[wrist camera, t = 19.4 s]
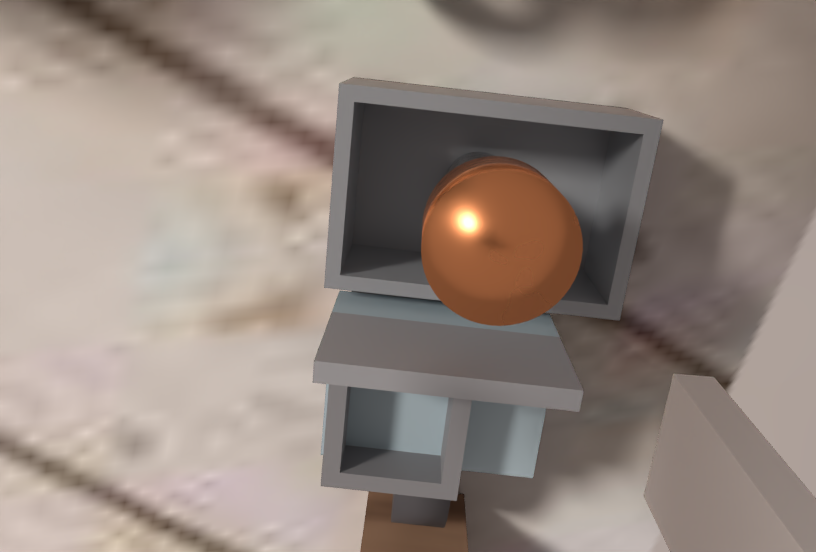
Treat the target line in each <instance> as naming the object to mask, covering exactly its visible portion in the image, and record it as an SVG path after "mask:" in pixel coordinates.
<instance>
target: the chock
mask: <svg viewBox="0 0 816 552" xmlns="http://www.w3.org/2000/svg"><path fill="white" fill-rule="evenodd" d="M392 499H393V494H389V493H380V492H371V491H369V493H368V501H367V508H366V515H365V522H364V530H363V537H362V544H361V551H360V552H468V542H467V529H466V515H465V502H464V494H458V496H457V501H453V500H451V501H450V508H449V513H448V518H447V522H446V525H445V527H444V528H440V527H431V526H422V525H412V524H403V523H394V522H391V511H392Z"/></svg>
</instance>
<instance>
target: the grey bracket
mask: <svg viewBox="0 0 816 552" xmlns="http://www.w3.org/2000/svg"><path fill="white" fill-rule="evenodd" d="M313 383H322V384H326V396H325V408H324V421H323V434H322V446H321V455H323V464H322V477H321V486H325V487H334V488H343V489H352V490H362V491H371V492H380V493H389V494H393V499H392V511H391V522H394V523H403V524H412V525H422V526H431V527H440V528H444V527H445V525H446V522H447V518H448V513H449V508H450V501H451V500H453V501H457V496H458V489H459V482H460V476H461V470H463V471H472V472H481V473H490V474H499V475H508V476H517V477H526V478H533V475H534V470H535V465H536V460H537V454H538V449H539V444H540V439H541V434H542V428H543V423H544V418H545V413H546V408H547V409H556V410H565V411H574V412H579V411H580V407H581V402H582V397H583V392H584V390H583V388H582V386H581V383H580V381H579V379H578V377H577V374H576V372H575V370H574V368H573V365H572V363H571V361H570V359H569V356H568V354H567V352H566V350H565V347H564V345H563V343H562V341H561V338H560V336H559V334H558V332H557V329H556V327H555V325H554V323H553V320H552V318H551V316H550V314H545V313H543V314H542V315H540V316H538V317H536V318H534V319H532V320H529V321H526V322H523V323H519V324H514V325H506V326H492V325H485V324H480V323H476V322H473V321H470V320H468V319H466V318H463V317H461V316H460V315H458V314H456V313H455V312H453V311H452V310H450V309H449V308H448V307H447V306H445V305H444V304H443V302H442V301H439V300H430V299H421V298H413V297H404V296H395V295H386V294H377V293H368V292H359V291H352V292H348V291H340V292H339V294H338V297H337V300H336V303H335V305H334V308H333V311H332V313H331V316H330V319H329V322H328V324H327V327H326V330H325V333H324V335H323V338H322V341H321V343H320V346H319V349H318V352H317V354H316V357H315V360H314V370H313Z"/></svg>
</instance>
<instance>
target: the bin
mask: <svg viewBox="0 0 816 552" xmlns="http://www.w3.org/2000/svg"><path fill="white" fill-rule="evenodd" d="M662 124H663V120H662V119H659V118H656V117H653V116H650V115H647V114H644V113H640V112H637V111H634V110H631V109H628V108H621V107H612V106H603V105H594V104H585V103H576V102H568V101H559V100H550V99H541V98H532V97H523V96H515V95H506V94H497V93H488V92H479V91H470V90H461V89H453V88H444V87H435V86H426V85H417V84H408V83H400V82H391V81H382V80H373V79H364V78H355V77H353V78H350V79H348V80H346V81H343V82H341V83H339V94H338V108H337V121H336V134H335V148H334V161H333V175H332V188H331V202H330V215H329V229H328V242H327V256H326V269H325V283H324V288H332V289H341V290H350V291H359V292H368V293H377V294H386V295H395V296H404V297H413V298H421V299H430V300H439V301H441V300H440V299H439V298H438V297H437V296H436V294H435V293H434V291H433V290H432V288H431V286H430V285H429V283H428V281H427V278H426V275H425V273H424V269H423V264H422V257H421V242H422V220H423V214H424V209H425V206H426V203H427V201H428V199H429V197H430V194H431V193H432V191H433V190H434V188H435V187H436V185H437V184H438V183H439V182H440V180H441V179H442V178H443V177H444V176H445V175H446V173H447V171H448V169H449V167H450V166H451V164H452V163H453V162H454V161H455V160H456V159H458V158H459V157H460V156H462V155H464V154H467V153H470V152H487V153H490V154H492V155H494V156H503V157H509V158H514V159H517V160H520V161H523V162H525V163H527V164H529V165H531V166H532V167H534V168H535V169H537V170H538V171H539V172H541V173H542V174H543V175H544V176H545V177H546V178H547V179H548V180H549V181H550V182H551V183H552V184H553V185H554V186H555V187H556V188H557V190H558V191H559V192H560V193H561V194H562V195H563V196H564V197H565V198H566V200H567V201H568V202H569V204H570V205H571V207H572V208H573V210H574V212H575V214H576V216H577V218H578V221H579V224H580V228H581V232H582V239H583V252H582V260H581V264H580V268H579V271H578V273H577V276H576V278H575V280H574V282H573V284H572V285H571V287H570V289H569V290H568V291H567V293H566V294H565V295H564V297H563V298H562V299H561V300H560V301H559V302H558V303H557V304H556V305H554V306H553V307H552V308H551V309H549V310H548V311H547V313H556V314H565V315H574V316H583V317H592V318H601V319H610V320H619V321H620V317H621V312H622V307H623V303H624V298H625V294H626V289H627V285H628V280H629V275H630V271H631V266H632V262H633V257H634V252H635V248H636V243H637V239H638V234H639V230H640V225H641V220H642V216H643V211H644V207H645V202H646V198H647V193H648V188H649V184H650V179H651V175H652V170H653V166H654V161H655V156H656V152H657V147H658V143H659V138H660V134H661V129H662Z"/></svg>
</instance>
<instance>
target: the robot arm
mask: <svg viewBox="0 0 816 552" xmlns="http://www.w3.org/2000/svg"><path fill="white" fill-rule="evenodd" d="M644 498H645V500H646V502H647V504H648V506H649V508H650V510H651V512H652V515H653V517H654V519H655V521H656V523H657V525H658V527H659V529H660V531H661V533H662V535H663V537H664V540H665V542H666V544H667V546H668V548H669V550H670V552H816V498H815V497H814V496H813V495H812V493H811V492H810V491H809V490H808V489H807V487H806V486H805V485H804V484H803V483H802V481H801V480H800V479H799V478H798V477H797V475H796V474H795V473H794V472H793V471H792V469H791V468H790V467H789V466H788V465H787V464H786V462H785V461H784V460H783V459H782V458H781V456H780V455H779V454H778V453H777V452H776V450H775V449H774V448H773V447H772V446H771V444H770V443H769V442H768V441H767V440H766V439H765V437H764V436H763V435H762V434H761V433H760V431H759V430H758V429H757V428H756V427H755V425H754V424H753V423H752V422H751V421H750V419H749V418H748V417H747V416H746V415H745V414H744V412H743V411H742V410H741V409H740V408H739V406H738V405H737V404H736V403H735V402H734V400H732V398H731V397H730V396H729V394H728V393H727V392H726V391H725V390H724V388H723V387H722V386H721V385H720V384H719V383H718V381H717V380H716V379H715V378H714V377H708V376H696V375H685V374H673V377H672V381H671V385H670V390H669V394H668V398H667V402H666V406H665V410H664V414H663V418H662V423H661V427H660V431H659V435H658V439H657V443H656V447H655V451H654V456H653V460H652V464H651V468H650V472H649V476H648V480H647V484H646V488H645V493H644Z"/></svg>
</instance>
